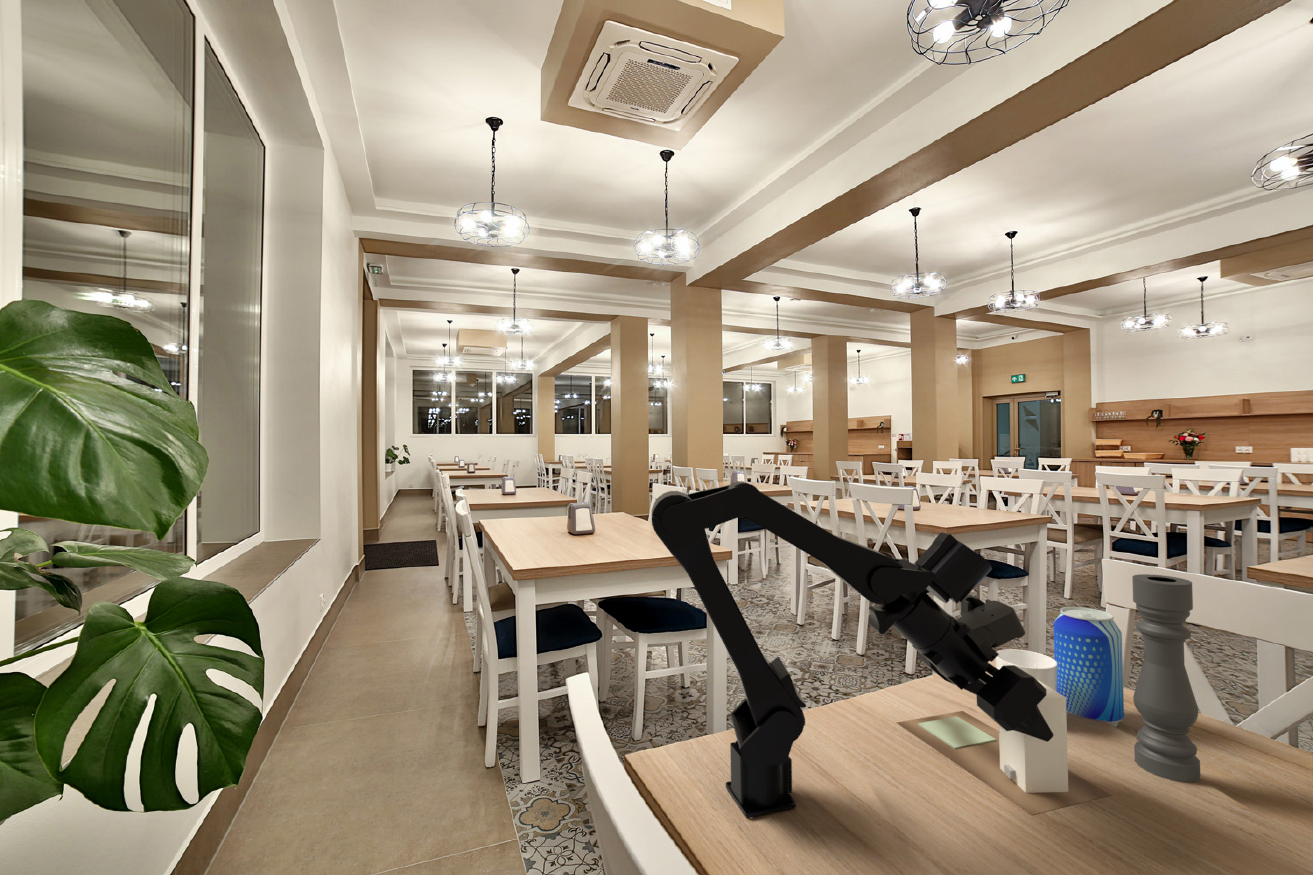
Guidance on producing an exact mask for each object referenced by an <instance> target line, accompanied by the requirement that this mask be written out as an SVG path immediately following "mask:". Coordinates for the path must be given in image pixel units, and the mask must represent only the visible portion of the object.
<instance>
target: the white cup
mask: <svg viewBox="0 0 1313 875" xmlns="http://www.w3.org/2000/svg"><path fill="white" fill-rule="evenodd" d="M996 652H997V653H998V654H999V655H998V656H997V657H996V658H995V659H994V660H995V668H997V669H1000V668H1001V667H1002V666H1006V665H1015V666H1016V667H1018V668H1020V669H1021V670H1023V671H1025V672H1026V673H1028V674H1029V675H1031V676H1033V677H1034V678H1035V679H1036V680H1038V681H1040V682H1042V683H1043V684H1045V685H1047V686H1048V687H1050V688H1051V689H1053V690H1055V691H1056V692H1057V667H1058V664H1057V662H1056V661H1055V660H1054V658H1052V657H1050V656H1048V655H1046V654H1043V653H1039V652H1035V651H1032V650H1026V649H1013V648H1006V649H1000V650H996Z"/></svg>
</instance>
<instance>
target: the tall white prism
mask: <svg viewBox="0 0 1313 875" xmlns="http://www.w3.org/2000/svg"><path fill="white" fill-rule="evenodd" d="M1037 681H1038V680H1037ZM1038 682H1039V683H1040V684H1042V685H1043V686H1044V687H1045V688H1046V696H1045V697H1044V698H1043V699H1042V701H1041V702H1040V703H1039V704H1038V705H1037V706H1038V708H1039V710H1040V712H1041V714H1042V716H1043V717H1044V719H1045V721H1046V722H1047V724H1048V726H1049V728H1050V729H1051V731H1052V733H1053V735H1054V736H1053V737H1052V738H1051V739H1050V740H1049V741H1048V742H1046V741H1043V740H1041V739H1038V738H1035V737H1032V736H1029V735H1027V734H1024V733H1021V732H1017V731H1014V730H1012V731H1006V730H1005V729H1003V728H1002V727H1001V726H1000V725H999V724H998V731H999V745H1000V769H1001V770H1002V771H1003V772H1004V773H1005V774H1006V775H1007V776H1008V777H1009V778H1010V779H1012V780H1013V781H1014V782H1015V783H1016V784H1017V785H1018V786H1019V787H1020V788H1021V789H1022V790H1023V791H1024V792H1026V793H1035V792H1068V770H1069V768H1068V766H1069V764H1068V763H1069V762H1068V759H1069V758H1068V731H1067V730H1068V727H1067V711H1066V697H1064V696H1063V695H1061V694H1060V693H1058V692H1056V691H1055V690H1053V689H1051V688H1050V687H1048V686H1047V685H1045V684H1043V683H1042V682H1040V681H1038Z"/></svg>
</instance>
